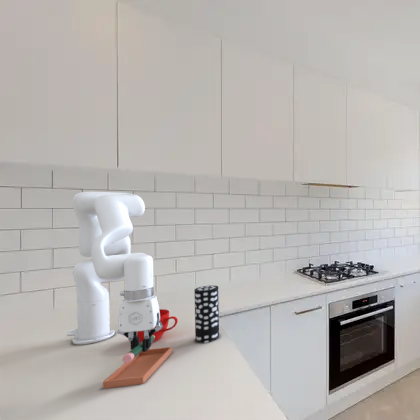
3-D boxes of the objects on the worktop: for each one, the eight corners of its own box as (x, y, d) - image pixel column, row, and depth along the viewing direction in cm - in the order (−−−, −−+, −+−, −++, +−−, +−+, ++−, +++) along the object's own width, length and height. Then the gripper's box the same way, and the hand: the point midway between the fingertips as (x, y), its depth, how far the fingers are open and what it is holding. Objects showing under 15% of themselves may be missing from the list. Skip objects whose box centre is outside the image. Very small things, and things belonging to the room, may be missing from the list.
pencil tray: (102, 388, 89) (102, 381, 89) (139, 355, 109) (139, 350, 109) (143, 383, 91) (143, 376, 91) (172, 352, 111) (171, 346, 111)
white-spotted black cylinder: (194, 344, 117) (193, 292, 117) (196, 336, 125) (195, 286, 124) (218, 340, 120) (217, 289, 120) (219, 332, 128) (219, 284, 128)
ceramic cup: (167, 346, 116) (167, 319, 116) (120, 348, 115) (119, 321, 115) (186, 332, 129) (185, 308, 129) (144, 333, 128) (143, 309, 128)
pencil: (131, 362, 92) (131, 354, 92) (122, 363, 91) (122, 355, 91) (156, 340, 108) (157, 333, 108) (148, 340, 107) (149, 333, 107)
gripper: (103, 299, 94) (104, 359, 94) (162, 295, 98) (163, 352, 98) (117, 292, 101) (119, 348, 102) (172, 289, 105) (173, 342, 105)
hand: (141, 350), depth 100 cm, fingers closed on pencil, 2 cm apart
